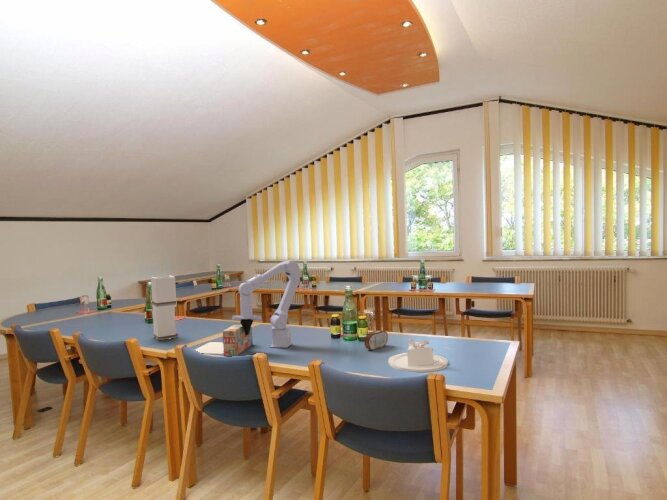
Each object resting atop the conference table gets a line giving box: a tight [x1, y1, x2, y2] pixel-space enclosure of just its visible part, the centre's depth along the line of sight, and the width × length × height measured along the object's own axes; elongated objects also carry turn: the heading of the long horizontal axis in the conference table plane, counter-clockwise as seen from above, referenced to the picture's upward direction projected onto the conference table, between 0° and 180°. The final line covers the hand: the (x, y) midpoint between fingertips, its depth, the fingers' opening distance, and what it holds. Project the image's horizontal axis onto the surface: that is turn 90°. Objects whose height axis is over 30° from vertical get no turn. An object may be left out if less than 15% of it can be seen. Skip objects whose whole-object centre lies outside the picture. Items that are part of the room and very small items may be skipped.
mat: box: [194, 341, 224, 355], centre depth 218 cm, size 18×20×1 cm
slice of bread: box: [364, 329, 389, 351], centre depth 207 cm, size 15×3×8 cm, turn 134°
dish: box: [388, 338, 449, 373], centre depth 182 cm, size 25×25×11 cm
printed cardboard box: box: [222, 324, 254, 357], centre depth 213 cm, size 21×6×12 cm, turn 169°
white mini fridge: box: [150, 275, 179, 341], centre depth 245 cm, size 11×11×35 cm
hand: (247, 334), depth 211 cm, fingers closed
